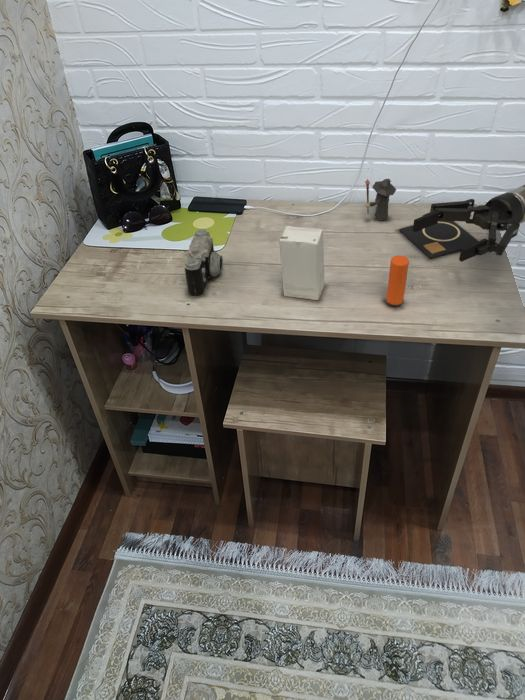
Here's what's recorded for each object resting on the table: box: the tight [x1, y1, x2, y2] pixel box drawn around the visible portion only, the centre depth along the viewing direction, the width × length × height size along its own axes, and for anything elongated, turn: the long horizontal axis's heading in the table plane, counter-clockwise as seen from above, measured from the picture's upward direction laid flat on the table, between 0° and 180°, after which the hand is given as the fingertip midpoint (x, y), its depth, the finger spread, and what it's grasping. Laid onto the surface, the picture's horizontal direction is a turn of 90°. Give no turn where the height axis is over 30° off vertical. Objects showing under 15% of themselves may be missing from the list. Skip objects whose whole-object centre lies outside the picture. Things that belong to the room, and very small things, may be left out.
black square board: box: [398, 220, 479, 260], centre depth 140 cm, size 14×14×1 cm
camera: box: [183, 228, 224, 298], centre depth 129 cm, size 15×7×10 cm, turn 173°
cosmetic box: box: [278, 225, 325, 301], centre depth 122 cm, size 8×6×15 cm
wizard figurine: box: [364, 178, 397, 221], centre depth 144 cm, size 8×6×12 cm
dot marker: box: [385, 255, 410, 308], centre depth 118 cm, size 4×4×11 cm
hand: (436, 240), depth 117 cm, fingers open, 13 cm apart
